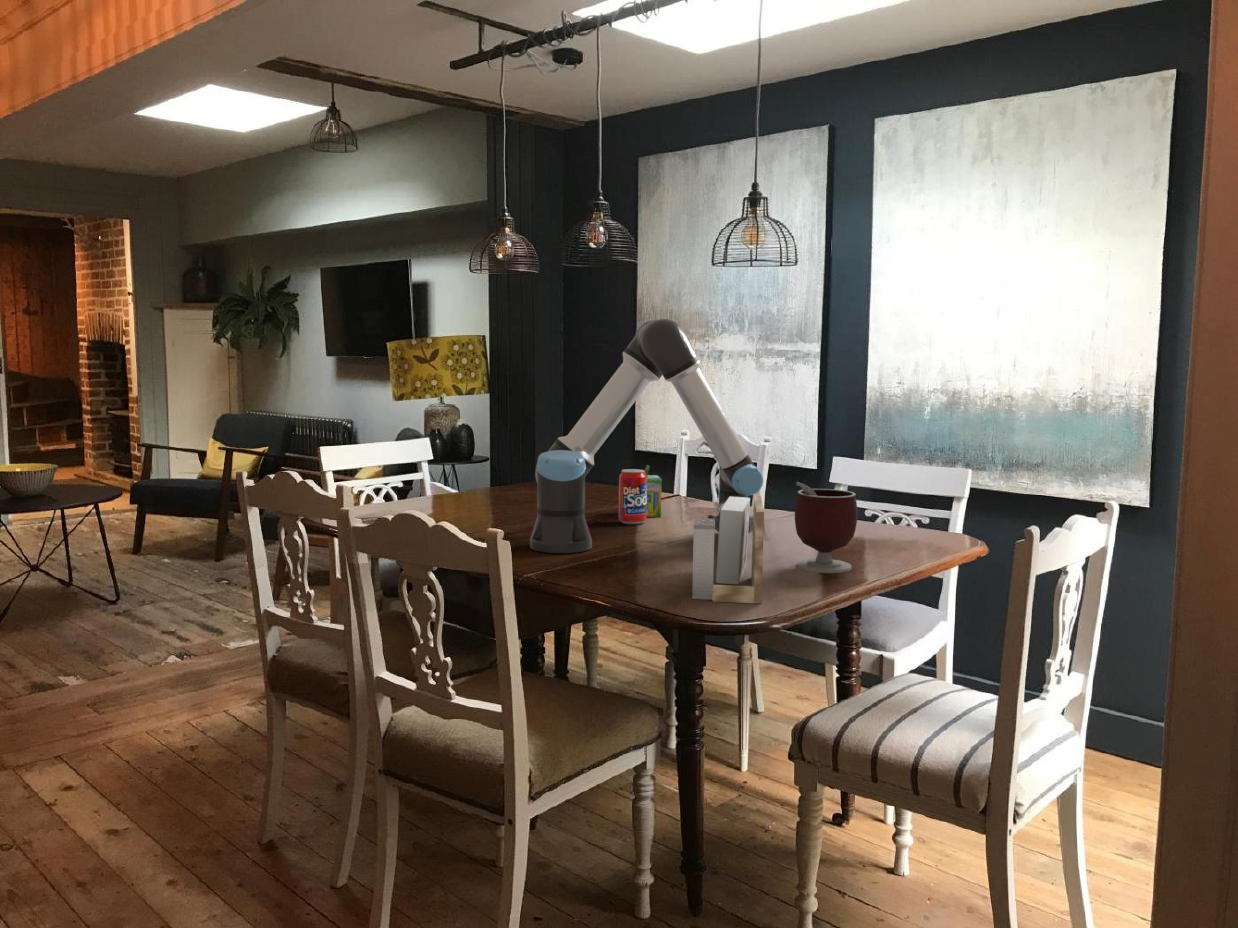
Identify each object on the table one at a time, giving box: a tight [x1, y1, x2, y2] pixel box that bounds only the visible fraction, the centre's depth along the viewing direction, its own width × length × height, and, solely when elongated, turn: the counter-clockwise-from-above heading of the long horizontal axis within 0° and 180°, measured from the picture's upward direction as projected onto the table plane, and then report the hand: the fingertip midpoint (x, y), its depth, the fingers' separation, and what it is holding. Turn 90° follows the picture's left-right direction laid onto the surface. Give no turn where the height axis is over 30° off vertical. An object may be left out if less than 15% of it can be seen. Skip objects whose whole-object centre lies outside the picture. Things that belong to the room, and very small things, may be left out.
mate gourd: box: [794, 481, 858, 574], centre depth 226 cm, size 16×14×20 cm
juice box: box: [644, 464, 663, 518], centre depth 294 cm, size 9×9×15 cm
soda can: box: [618, 468, 648, 526], centre depth 281 cm, size 8×8×15 cm
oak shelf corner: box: [712, 494, 765, 604], centre depth 204 cm, size 10×22×18 cm, turn 174°
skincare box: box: [715, 496, 751, 586], centre depth 219 cm, size 21×6×16 cm, turn 168°
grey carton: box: [691, 517, 716, 601], centre depth 200 cm, size 4×8×15 cm, turn 174°
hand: (734, 533), depth 230 cm, fingers closed
